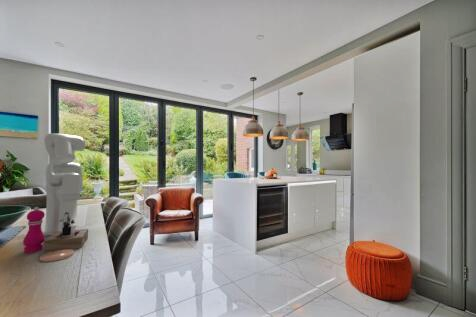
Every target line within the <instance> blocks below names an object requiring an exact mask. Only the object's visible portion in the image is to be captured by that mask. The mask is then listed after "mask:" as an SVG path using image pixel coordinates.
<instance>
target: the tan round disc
mask: <svg viewBox="0 0 476 317" xmlns="http://www.w3.org/2000/svg"><path fill="white" fill-rule="evenodd" d="M74 252H75V249H63V250H57V251H52V252H45V253H44V254H42V255H40V256H39V261H40V262H41V263H42V262H43V263H50V262H57V261H62V260H66V259H67V258H70V257H72V256H74Z"/></svg>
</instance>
